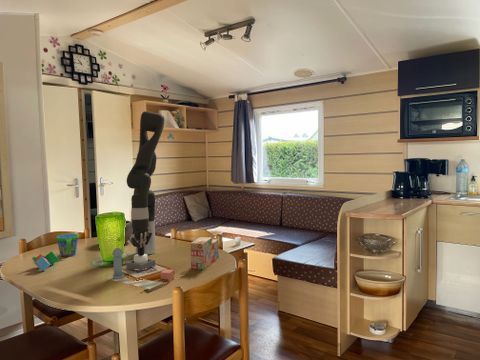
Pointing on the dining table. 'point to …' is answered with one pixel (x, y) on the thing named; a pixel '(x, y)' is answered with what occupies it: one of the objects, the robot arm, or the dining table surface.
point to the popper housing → (140, 266)
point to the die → (167, 275)
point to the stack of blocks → (203, 252)
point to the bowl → (128, 230)
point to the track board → (140, 283)
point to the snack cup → (67, 244)
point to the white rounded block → (140, 259)
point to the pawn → (117, 263)
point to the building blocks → (45, 260)
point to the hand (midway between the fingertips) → (141, 255)
